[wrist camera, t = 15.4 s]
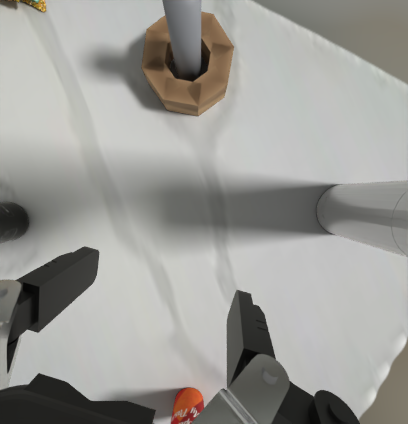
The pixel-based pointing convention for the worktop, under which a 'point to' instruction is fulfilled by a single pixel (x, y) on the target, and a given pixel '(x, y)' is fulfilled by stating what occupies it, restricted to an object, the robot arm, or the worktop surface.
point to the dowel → (185, 36)
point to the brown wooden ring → (180, 89)
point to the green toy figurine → (36, 4)
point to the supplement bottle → (12, 221)
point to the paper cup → (187, 406)
